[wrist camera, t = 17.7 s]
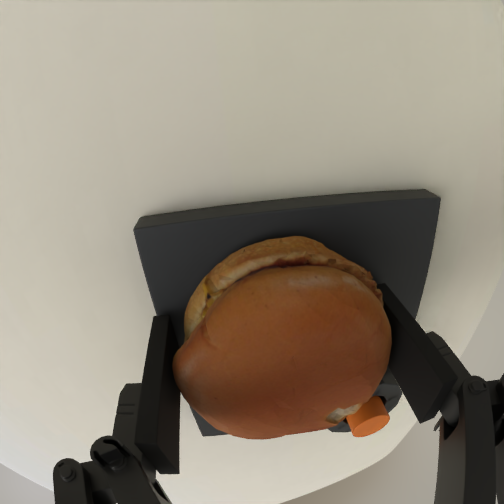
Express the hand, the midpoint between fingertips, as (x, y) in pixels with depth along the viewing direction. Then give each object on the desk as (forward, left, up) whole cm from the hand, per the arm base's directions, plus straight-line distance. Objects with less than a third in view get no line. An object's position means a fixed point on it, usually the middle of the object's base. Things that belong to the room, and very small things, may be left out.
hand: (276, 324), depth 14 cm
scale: (-2, +3, -2) cm, 3 cm away
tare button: (-6, +8, +1) cm, 10 cm away
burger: (0, 0, 0) cm, 1 cm away
